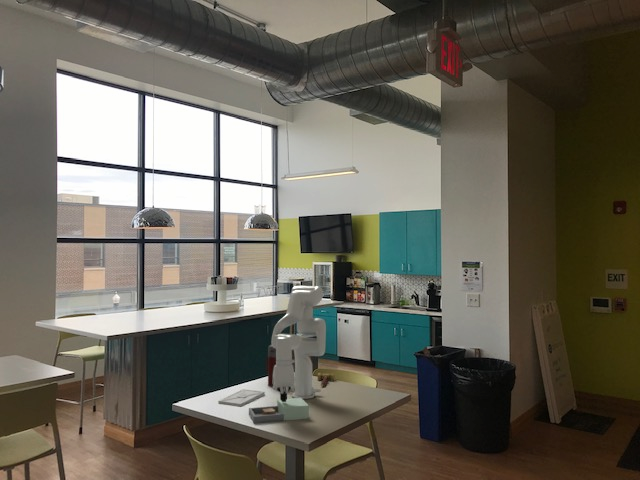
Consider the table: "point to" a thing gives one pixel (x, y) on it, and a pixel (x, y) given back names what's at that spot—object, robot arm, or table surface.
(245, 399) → the envelope
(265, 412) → the tile
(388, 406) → the table surface
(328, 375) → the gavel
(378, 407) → the table surface
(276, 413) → the tray
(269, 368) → the red liquor decanter
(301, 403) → the mint green lidded box
